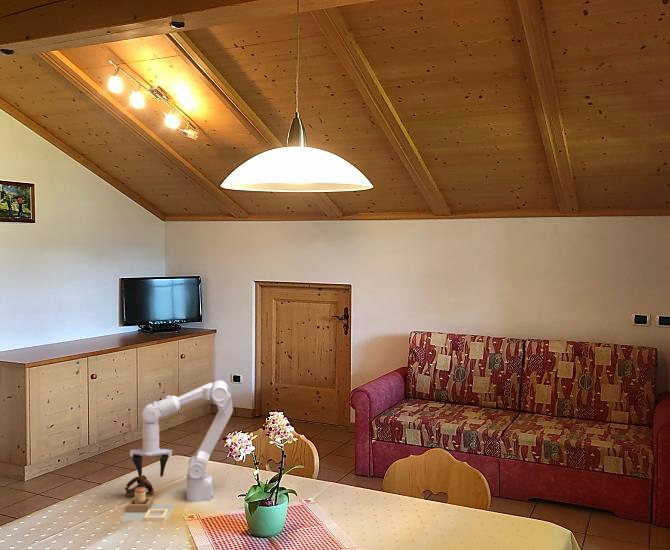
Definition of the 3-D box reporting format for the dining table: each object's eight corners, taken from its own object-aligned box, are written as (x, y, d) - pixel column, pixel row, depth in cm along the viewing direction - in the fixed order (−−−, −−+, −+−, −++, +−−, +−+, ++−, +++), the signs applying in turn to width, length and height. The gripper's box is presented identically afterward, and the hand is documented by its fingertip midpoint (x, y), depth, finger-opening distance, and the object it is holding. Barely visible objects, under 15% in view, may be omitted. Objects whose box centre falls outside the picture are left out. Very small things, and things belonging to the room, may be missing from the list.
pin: (146, 506, 235) (146, 486, 235) (145, 510, 231) (145, 490, 231) (135, 506, 235) (135, 487, 234) (133, 511, 231) (133, 491, 230)
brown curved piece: (155, 501, 243) (144, 484, 240) (131, 512, 243) (120, 496, 240) (158, 481, 255) (147, 465, 252) (135, 492, 255) (124, 476, 252)
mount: (174, 507, 237) (174, 497, 237) (166, 524, 223) (166, 513, 223) (131, 507, 237) (131, 497, 236) (120, 524, 223) (120, 513, 223)
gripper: (127, 441, 235) (127, 479, 236) (169, 441, 236) (169, 479, 237) (132, 435, 242) (132, 472, 243) (173, 435, 243) (173, 472, 244)
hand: (151, 475), depth 240 cm, fingers open, 7 cm apart
